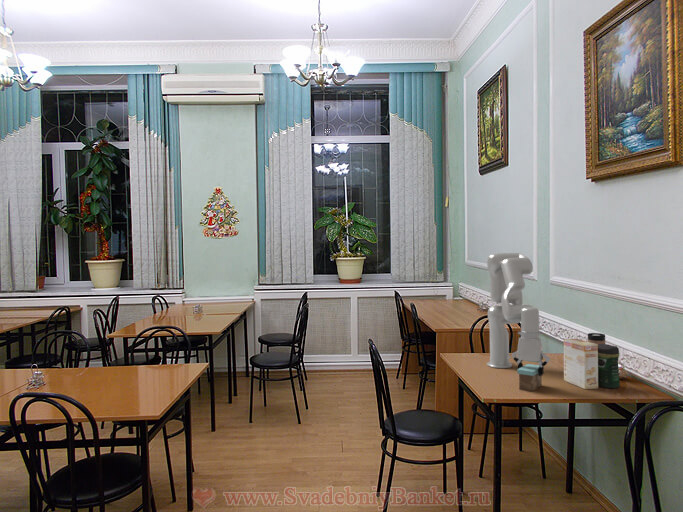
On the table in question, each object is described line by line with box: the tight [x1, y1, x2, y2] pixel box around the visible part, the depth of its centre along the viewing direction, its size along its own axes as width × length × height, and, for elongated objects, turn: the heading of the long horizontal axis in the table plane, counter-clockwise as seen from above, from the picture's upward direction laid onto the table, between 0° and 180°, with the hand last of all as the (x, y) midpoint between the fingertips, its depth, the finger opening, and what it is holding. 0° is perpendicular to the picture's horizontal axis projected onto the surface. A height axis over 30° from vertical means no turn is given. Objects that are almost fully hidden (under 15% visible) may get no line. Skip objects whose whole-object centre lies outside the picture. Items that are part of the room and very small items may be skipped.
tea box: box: [518, 373, 543, 392], centre depth 221 cm, size 12×6×7 cm, turn 140°
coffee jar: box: [598, 343, 621, 389], centre depth 221 cm, size 10×8×19 cm
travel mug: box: [587, 332, 606, 344], centre depth 238 cm, size 8×8×20 cm
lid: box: [516, 363, 540, 376], centre depth 221 cm, size 13×7×3 cm, turn 140°
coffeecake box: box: [563, 338, 599, 390], centre depth 224 cm, size 15×7×20 cm, turn 10°
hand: (530, 374), depth 221 cm, fingers open, 8 cm apart
